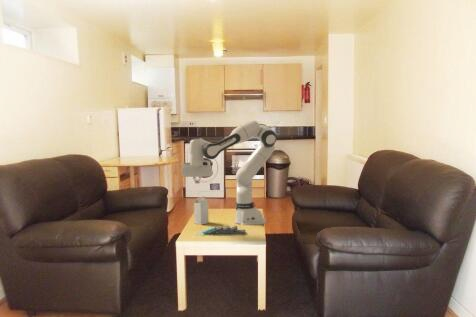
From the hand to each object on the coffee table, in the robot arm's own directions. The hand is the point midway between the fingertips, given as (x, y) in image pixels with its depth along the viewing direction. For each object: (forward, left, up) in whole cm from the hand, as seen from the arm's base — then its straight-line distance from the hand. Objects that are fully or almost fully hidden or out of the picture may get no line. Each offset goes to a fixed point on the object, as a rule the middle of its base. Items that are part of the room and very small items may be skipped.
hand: (197, 183), depth 227 cm
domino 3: (-14, +11, -30) cm, 35 cm away
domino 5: (-23, +11, -30) cm, 39 cm away
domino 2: (-9, +11, -30) cm, 33 cm away
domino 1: (-5, +11, -30) cm, 32 cm away
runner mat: (-13, +11, -31) cm, 35 cm away
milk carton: (-1, -13, -31) cm, 34 cm away
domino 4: (-19, +11, -30) cm, 37 cm away
